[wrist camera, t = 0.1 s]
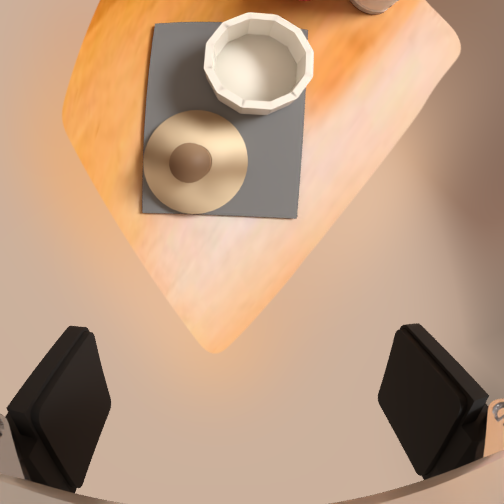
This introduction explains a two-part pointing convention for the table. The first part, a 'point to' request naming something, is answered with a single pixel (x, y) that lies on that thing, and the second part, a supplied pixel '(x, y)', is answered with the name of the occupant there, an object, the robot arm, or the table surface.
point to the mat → (249, 125)
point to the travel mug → (373, 5)
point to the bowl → (258, 63)
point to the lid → (195, 162)
